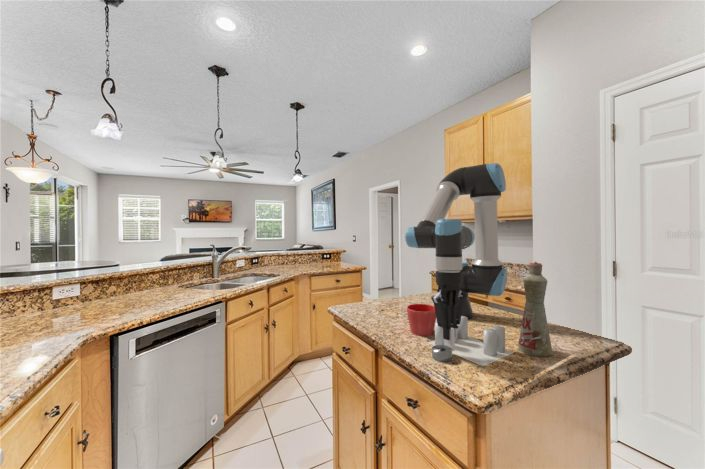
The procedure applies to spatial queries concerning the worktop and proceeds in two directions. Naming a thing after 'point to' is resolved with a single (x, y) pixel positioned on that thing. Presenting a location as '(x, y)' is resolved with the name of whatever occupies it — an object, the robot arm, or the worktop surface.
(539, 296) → the bottle
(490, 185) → the robot arm
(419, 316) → the flower pot
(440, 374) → the worktop surface
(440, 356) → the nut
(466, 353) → the board
